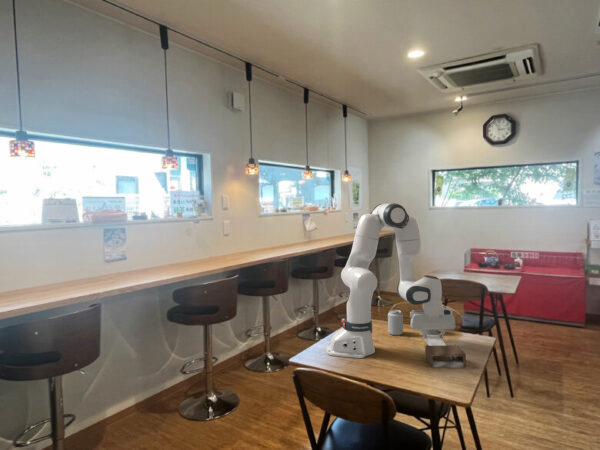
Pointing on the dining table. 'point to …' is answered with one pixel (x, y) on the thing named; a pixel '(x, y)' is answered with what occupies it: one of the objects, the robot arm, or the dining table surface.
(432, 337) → the white and orange box
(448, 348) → the cabinet
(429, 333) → the cup
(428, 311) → the robot arm
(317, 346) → the dining table surface
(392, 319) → the can
